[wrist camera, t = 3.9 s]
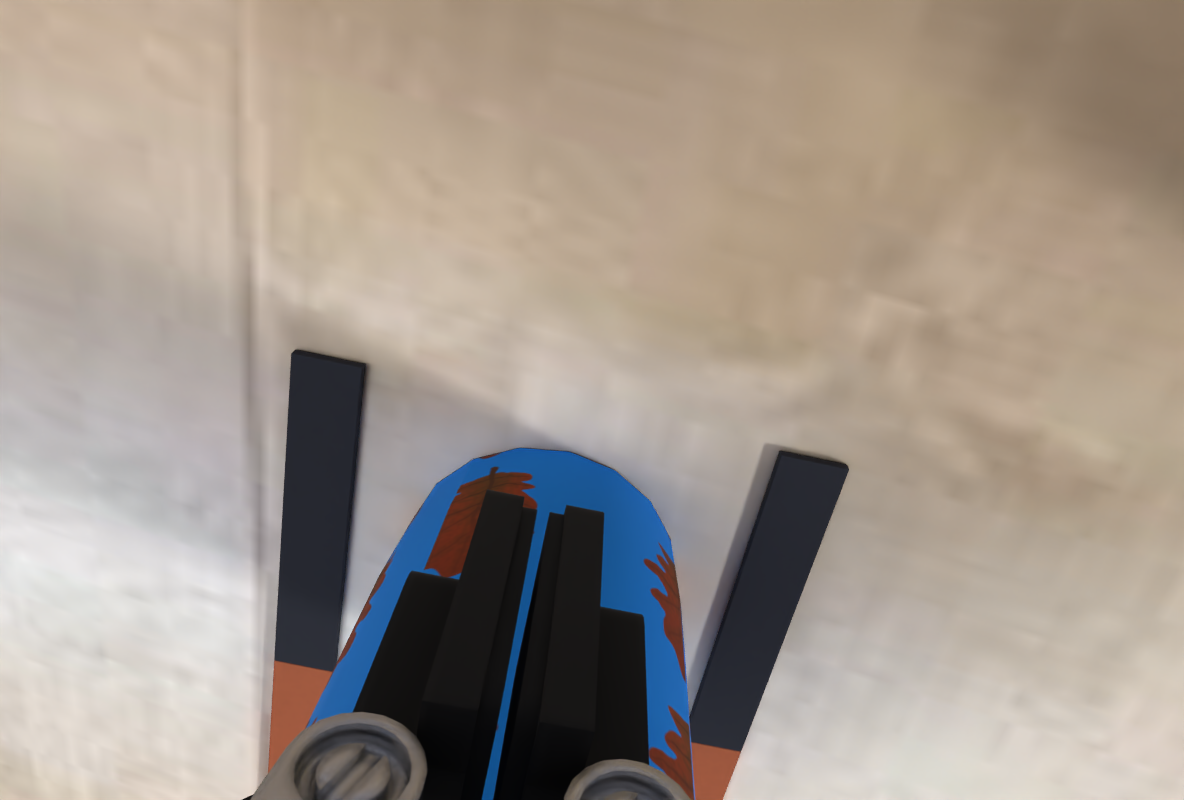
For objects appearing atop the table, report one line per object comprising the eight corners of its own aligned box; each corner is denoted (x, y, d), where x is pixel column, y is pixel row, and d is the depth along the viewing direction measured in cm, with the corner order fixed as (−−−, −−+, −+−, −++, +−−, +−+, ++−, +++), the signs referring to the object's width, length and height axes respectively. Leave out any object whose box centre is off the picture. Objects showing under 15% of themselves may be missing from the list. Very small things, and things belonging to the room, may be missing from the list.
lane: (295, 348, 29) (290, 353, 28) (847, 464, 29) (849, 469, 29) (266, 845, 39) (263, 852, 39) (672, 921, 40) (673, 929, 40)
